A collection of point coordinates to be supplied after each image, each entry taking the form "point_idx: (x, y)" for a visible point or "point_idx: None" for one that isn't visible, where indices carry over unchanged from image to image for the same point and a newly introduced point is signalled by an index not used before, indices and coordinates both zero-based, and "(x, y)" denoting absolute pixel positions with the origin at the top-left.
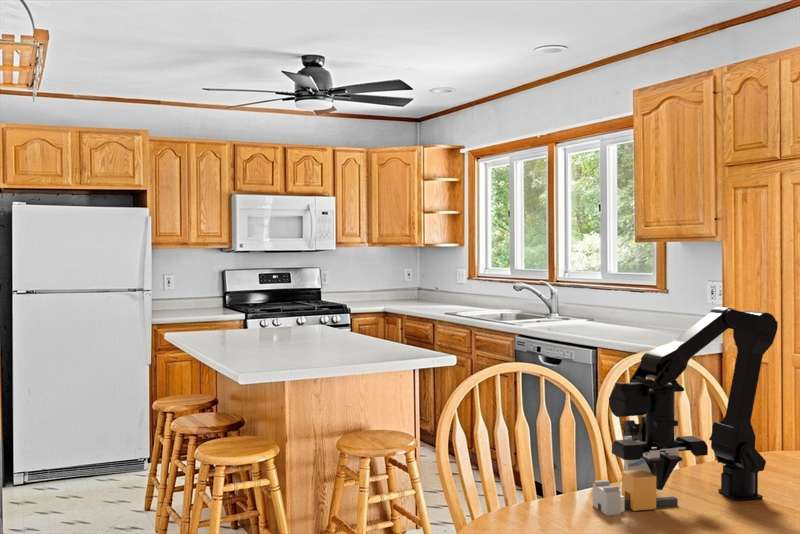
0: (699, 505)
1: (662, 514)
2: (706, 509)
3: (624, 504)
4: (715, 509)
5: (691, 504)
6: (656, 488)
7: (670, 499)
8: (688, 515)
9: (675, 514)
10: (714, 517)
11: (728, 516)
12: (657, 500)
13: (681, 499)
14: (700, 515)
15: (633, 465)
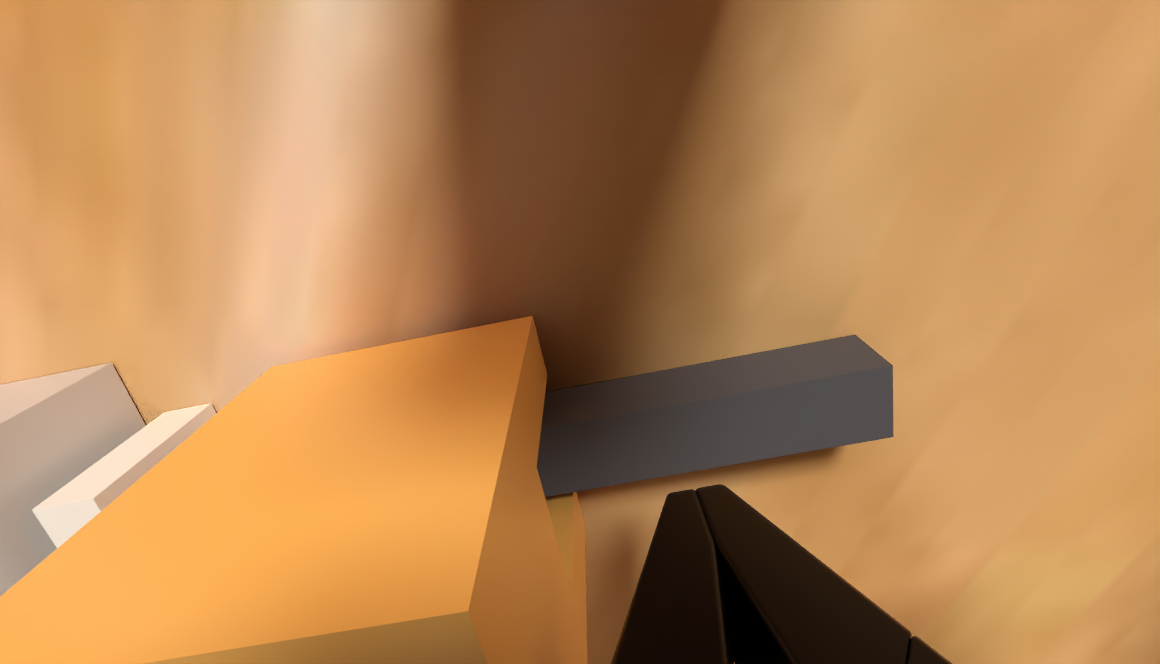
0: (1082, 399)
1: (603, 599)
2: (1067, 501)
3: None
4: (1150, 502)
5: (1021, 369)
6: (668, 497)
7: (800, 449)
8: None
9: None
10: (995, 659)
11: (1124, 644)
12: (637, 477)
13: (1023, 202)
14: (912, 622)
15: None
